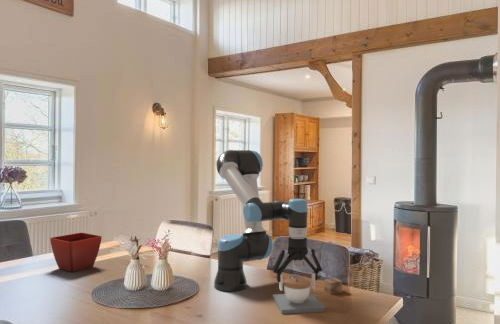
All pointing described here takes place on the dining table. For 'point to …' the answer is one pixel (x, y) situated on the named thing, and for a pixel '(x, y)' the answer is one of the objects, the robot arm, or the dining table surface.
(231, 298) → the dining table surface
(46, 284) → the dining table surface
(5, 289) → the dining table surface
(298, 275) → the dark grey metal cylinder
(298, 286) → the lidded jar
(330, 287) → the walnut block
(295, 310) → the charcoal board
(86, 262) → the plant pot
